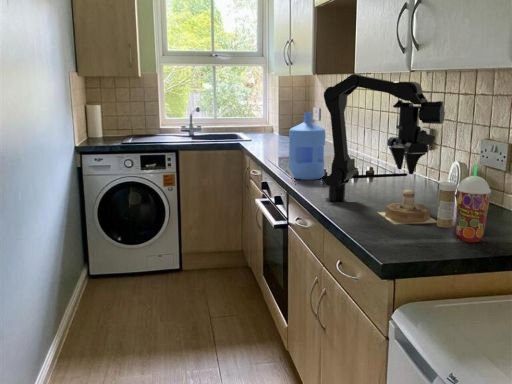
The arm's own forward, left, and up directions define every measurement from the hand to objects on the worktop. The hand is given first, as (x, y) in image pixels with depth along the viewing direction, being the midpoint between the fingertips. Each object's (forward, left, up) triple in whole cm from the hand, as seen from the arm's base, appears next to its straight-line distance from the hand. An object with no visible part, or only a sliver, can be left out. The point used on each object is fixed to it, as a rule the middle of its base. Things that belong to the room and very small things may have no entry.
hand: (405, 171), depth 164 cm
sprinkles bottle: (+21, +4, -13) cm, 25 cm away
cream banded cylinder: (+11, -3, -12) cm, 17 cm away
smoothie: (+31, +6, -13) cm, 34 cm away
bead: (+11, -3, -12) cm, 17 cm away
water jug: (-62, -19, -13) cm, 66 cm away
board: (+11, -3, -13) cm, 17 cm away
